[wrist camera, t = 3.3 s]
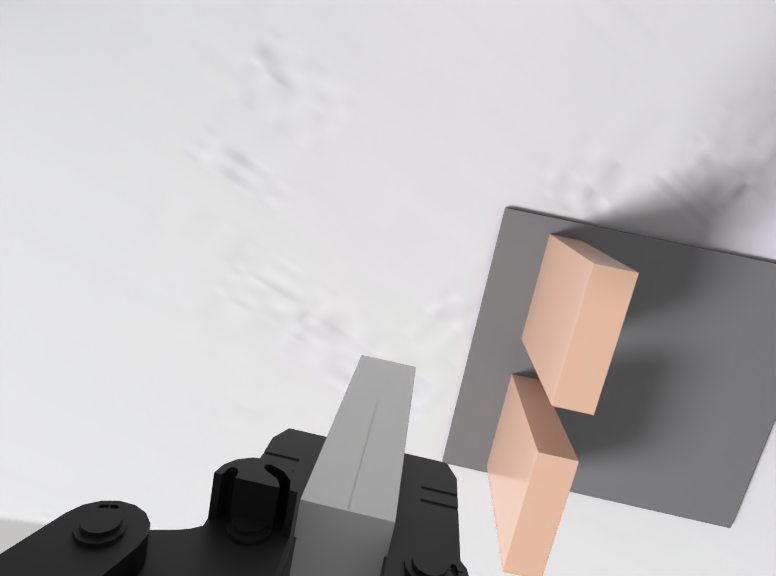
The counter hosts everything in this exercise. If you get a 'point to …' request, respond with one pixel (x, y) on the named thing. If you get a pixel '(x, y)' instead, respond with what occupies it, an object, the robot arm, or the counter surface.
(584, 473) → the mat
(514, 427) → the tile
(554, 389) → the tile
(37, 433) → the counter surface
